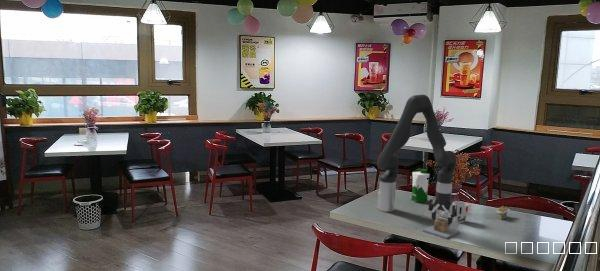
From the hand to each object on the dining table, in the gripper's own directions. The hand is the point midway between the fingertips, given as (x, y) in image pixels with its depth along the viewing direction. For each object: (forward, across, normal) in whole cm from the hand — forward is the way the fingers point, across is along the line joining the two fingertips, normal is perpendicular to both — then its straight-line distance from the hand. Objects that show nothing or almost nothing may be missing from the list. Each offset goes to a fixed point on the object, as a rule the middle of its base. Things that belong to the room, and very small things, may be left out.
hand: (441, 221), depth 218 cm
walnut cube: (+4, 0, 0) cm, 4 cm away
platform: (+6, +11, +46) cm, 48 cm away
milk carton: (+6, -37, +38) cm, 53 cm away
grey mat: (+5, 0, 0) cm, 5 cm away
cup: (+6, -2, +22) cm, 23 cm away
